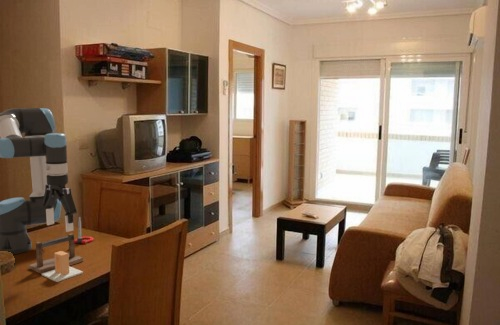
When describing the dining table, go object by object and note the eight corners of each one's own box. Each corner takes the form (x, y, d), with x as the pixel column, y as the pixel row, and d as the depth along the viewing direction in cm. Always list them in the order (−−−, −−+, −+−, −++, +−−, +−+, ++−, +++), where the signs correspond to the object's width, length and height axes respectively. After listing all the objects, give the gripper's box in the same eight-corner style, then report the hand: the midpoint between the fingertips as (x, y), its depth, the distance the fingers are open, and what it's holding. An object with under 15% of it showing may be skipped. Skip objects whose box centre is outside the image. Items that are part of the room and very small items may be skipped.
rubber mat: (41, 275, 169) (41, 273, 169) (67, 266, 178) (67, 265, 178) (56, 282, 163) (56, 280, 163) (83, 273, 172) (83, 271, 171)
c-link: (55, 272, 170) (54, 252, 169) (62, 270, 173) (61, 250, 172) (62, 275, 168) (61, 255, 166) (69, 273, 170) (68, 253, 169)
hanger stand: (29, 268, 176) (27, 241, 174) (70, 256, 190) (68, 230, 188) (42, 274, 170) (40, 246, 168) (83, 261, 184) (82, 235, 183)
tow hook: (81, 238, 216) (70, 243, 207) (80, 213, 215) (70, 217, 206) (96, 239, 215) (87, 244, 206) (96, 214, 214) (86, 218, 205)
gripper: (30, 171, 169) (33, 223, 172) (66, 179, 154) (68, 236, 158) (49, 169, 175) (51, 219, 178) (85, 176, 161) (87, 231, 164)
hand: (59, 227), depth 168 cm, fingers open, 13 cm apart
